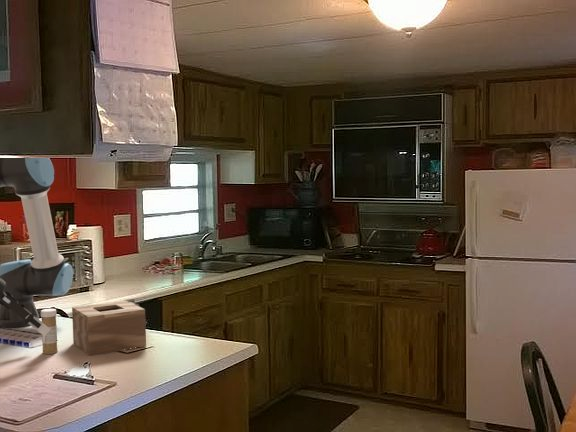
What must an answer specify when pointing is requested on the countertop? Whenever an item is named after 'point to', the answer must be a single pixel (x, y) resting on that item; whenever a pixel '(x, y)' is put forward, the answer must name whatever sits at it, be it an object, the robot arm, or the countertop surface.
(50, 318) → the sprinkles bottle
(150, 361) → the countertop surface
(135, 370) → the countertop surface
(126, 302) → the walnut drop box
